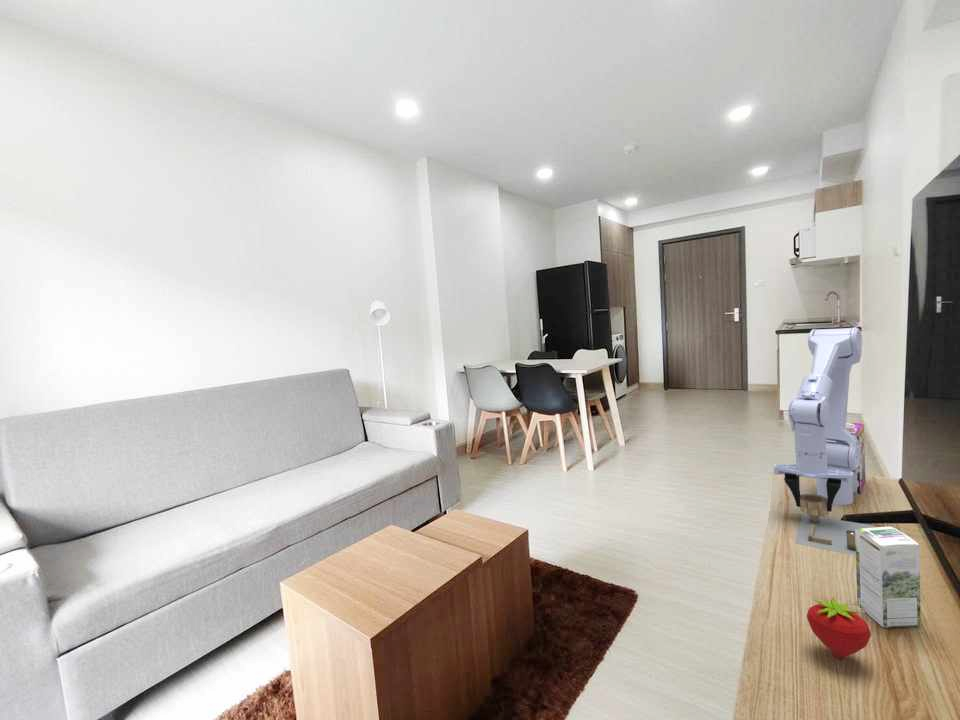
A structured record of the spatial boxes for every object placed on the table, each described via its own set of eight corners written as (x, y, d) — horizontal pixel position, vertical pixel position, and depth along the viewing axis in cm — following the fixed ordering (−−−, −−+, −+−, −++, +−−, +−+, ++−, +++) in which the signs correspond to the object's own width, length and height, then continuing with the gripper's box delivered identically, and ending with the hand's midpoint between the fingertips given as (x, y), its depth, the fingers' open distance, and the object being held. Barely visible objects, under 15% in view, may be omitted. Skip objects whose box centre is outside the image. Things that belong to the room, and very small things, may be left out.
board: (803, 517, 107) (802, 505, 107) (875, 529, 99) (874, 516, 98) (795, 546, 96) (794, 533, 96) (875, 562, 87) (875, 548, 87)
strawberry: (871, 682, 63) (868, 616, 62) (805, 658, 68) (802, 597, 67) (873, 655, 67) (870, 593, 66) (811, 635, 72) (808, 577, 71)
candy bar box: (861, 496, 113) (859, 434, 112) (836, 492, 117) (833, 432, 115) (867, 481, 121) (864, 422, 119) (843, 478, 124) (840, 421, 123)
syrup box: (892, 603, 76) (889, 524, 75) (923, 628, 71) (920, 542, 69) (856, 605, 77) (853, 526, 76) (884, 630, 71) (880, 544, 70)
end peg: (847, 545, 93) (846, 529, 92) (858, 547, 92) (857, 531, 91) (846, 549, 91) (846, 533, 91) (858, 551, 90) (857, 535, 90)
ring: (802, 504, 107) (801, 492, 106) (828, 508, 103) (828, 496, 103) (799, 513, 103) (798, 501, 102) (827, 517, 99) (826, 505, 99)
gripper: (770, 453, 103) (774, 508, 105) (851, 460, 94) (854, 521, 95) (775, 443, 109) (778, 496, 110) (852, 449, 99) (855, 507, 100)
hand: (814, 507), depth 103 cm, fingers closed on ring, 5 cm apart
